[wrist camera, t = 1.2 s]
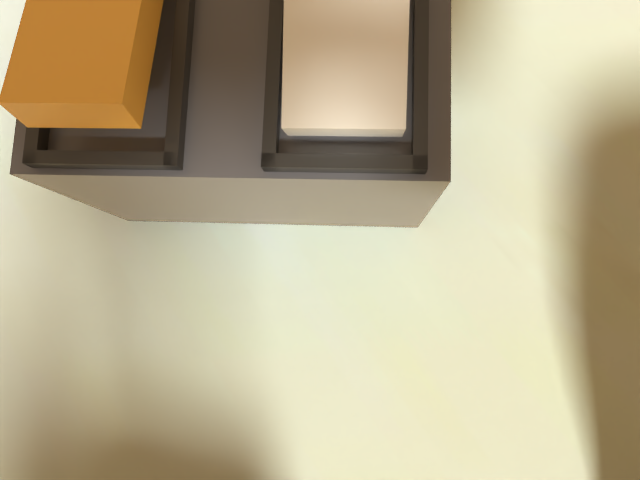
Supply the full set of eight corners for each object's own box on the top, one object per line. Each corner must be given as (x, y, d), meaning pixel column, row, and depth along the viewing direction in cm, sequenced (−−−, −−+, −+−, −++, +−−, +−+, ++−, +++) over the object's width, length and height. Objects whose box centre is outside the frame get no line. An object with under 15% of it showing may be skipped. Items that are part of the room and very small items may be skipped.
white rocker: (402, 136, 14) (406, 128, 13) (288, 135, 14) (280, 127, 13) (408, -85, 14) (413, -115, 13) (292, -82, 14) (285, -112, 13)
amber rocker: (141, 128, 14) (120, 102, 13) (27, 127, 14) (-4, 101, 13) (171, -47, 16) (156, -85, 14) (70, -45, 16) (47, -83, 15)
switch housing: (417, 227, 22) (453, 176, 14) (127, 220, 23) (-2, 169, 15) (419, 47, 23) (454, -100, 15) (143, 48, 24) (30, -90, 16)
